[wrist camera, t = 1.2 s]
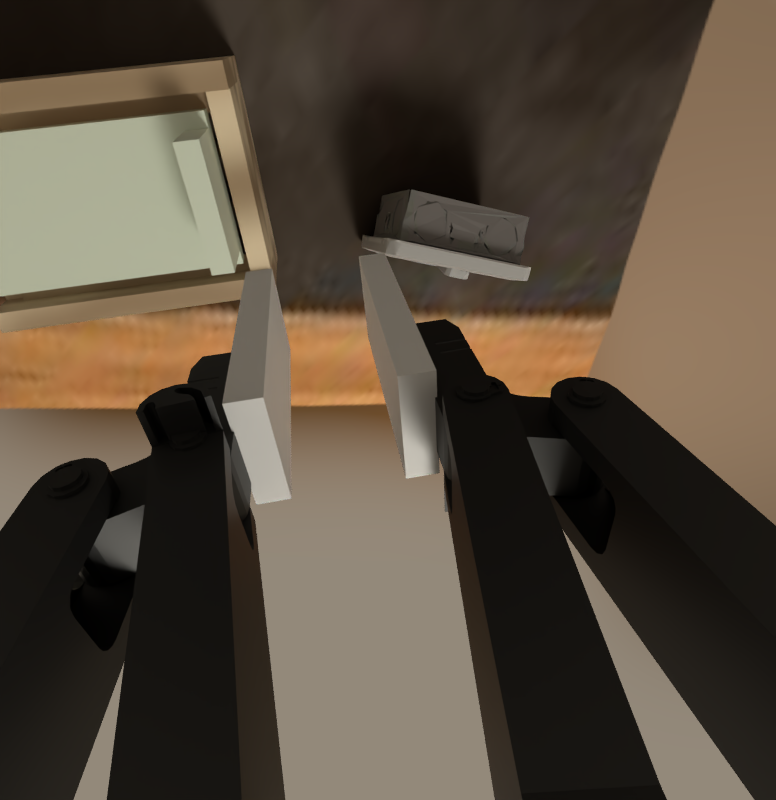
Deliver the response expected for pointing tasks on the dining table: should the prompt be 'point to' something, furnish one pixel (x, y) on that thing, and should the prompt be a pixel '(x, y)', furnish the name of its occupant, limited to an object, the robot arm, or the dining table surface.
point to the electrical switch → (450, 235)
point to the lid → (113, 202)
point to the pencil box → (134, 96)
